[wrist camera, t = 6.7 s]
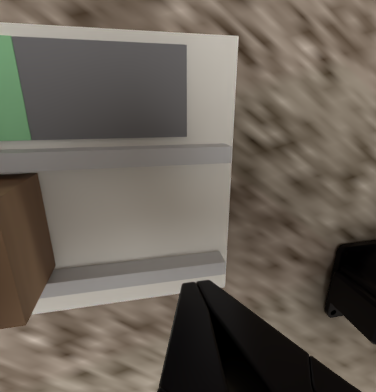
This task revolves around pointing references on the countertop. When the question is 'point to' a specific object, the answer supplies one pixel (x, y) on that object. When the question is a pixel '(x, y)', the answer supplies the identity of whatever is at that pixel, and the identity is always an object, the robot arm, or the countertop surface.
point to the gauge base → (122, 154)
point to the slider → (22, 248)
